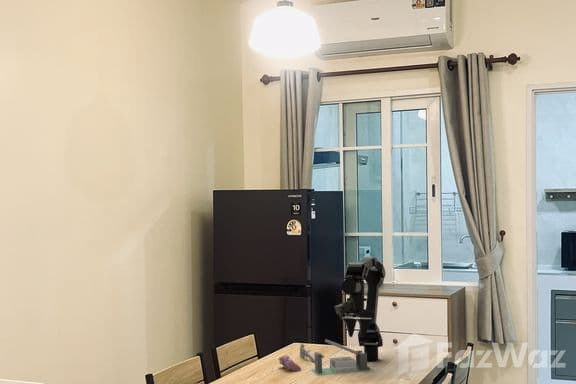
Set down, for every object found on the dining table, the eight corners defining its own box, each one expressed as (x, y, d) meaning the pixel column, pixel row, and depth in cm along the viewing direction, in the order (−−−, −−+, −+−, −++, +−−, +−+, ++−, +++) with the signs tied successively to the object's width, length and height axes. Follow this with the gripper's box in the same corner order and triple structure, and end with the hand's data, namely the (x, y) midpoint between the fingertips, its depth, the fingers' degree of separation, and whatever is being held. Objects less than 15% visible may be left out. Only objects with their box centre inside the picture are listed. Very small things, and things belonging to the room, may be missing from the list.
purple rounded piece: (283, 372, 263) (275, 357, 262) (292, 365, 265) (284, 350, 264) (293, 377, 254) (284, 362, 253) (302, 370, 256) (294, 355, 255)
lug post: (315, 371, 254) (314, 352, 255) (321, 370, 255) (320, 351, 255) (318, 373, 250) (317, 354, 251) (324, 372, 251) (323, 354, 251)
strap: (324, 342, 255) (326, 338, 255) (360, 356, 258) (362, 352, 259) (327, 343, 252) (328, 339, 252) (363, 358, 255) (365, 354, 256)
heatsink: (329, 368, 258) (329, 357, 258) (349, 366, 260) (349, 356, 260) (336, 373, 250) (335, 362, 250) (356, 371, 252) (356, 360, 252)
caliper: (299, 358, 282) (299, 343, 282) (302, 357, 282) (301, 342, 282) (320, 367, 263) (319, 351, 263) (322, 367, 263) (322, 351, 264)
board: (310, 371, 257) (310, 369, 257) (364, 366, 262) (364, 364, 262) (317, 377, 247) (317, 375, 247) (373, 371, 253) (373, 370, 253)
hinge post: (353, 366, 260) (353, 350, 260) (363, 365, 261) (362, 350, 261) (359, 370, 253) (359, 354, 253) (369, 369, 254) (369, 353, 254)
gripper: (327, 295, 261) (326, 336, 259) (349, 294, 244) (348, 338, 241) (352, 296, 265) (352, 336, 263) (376, 295, 248) (375, 338, 246)
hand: (356, 337), depth 253 cm, fingers open, 9 cm apart
